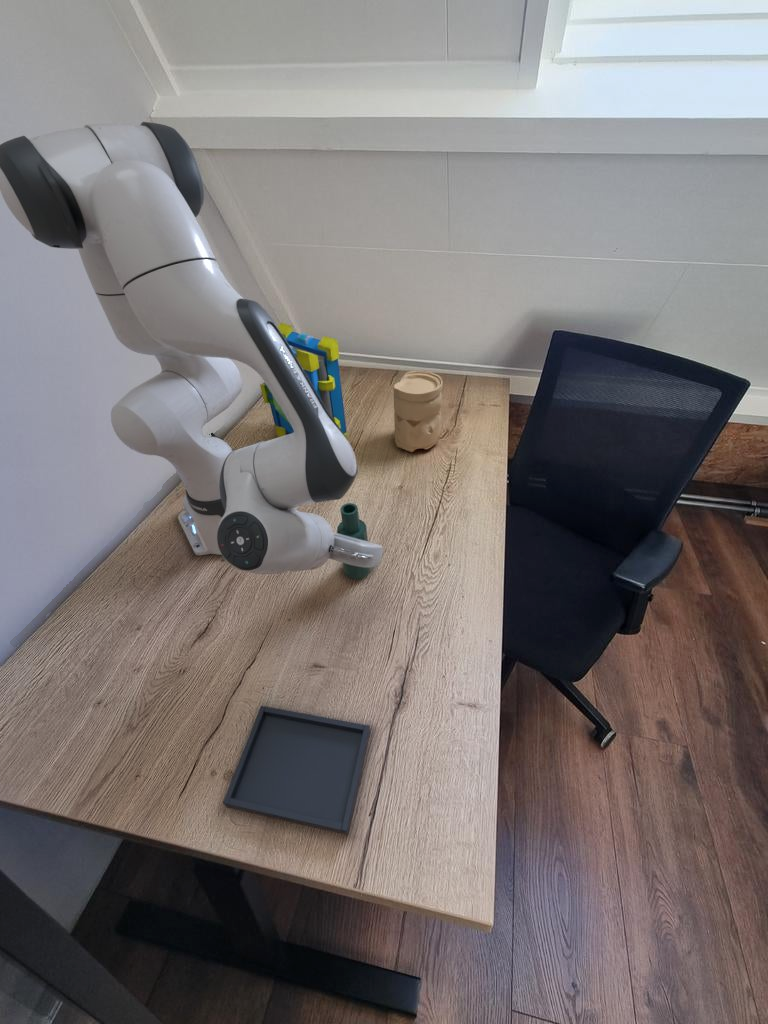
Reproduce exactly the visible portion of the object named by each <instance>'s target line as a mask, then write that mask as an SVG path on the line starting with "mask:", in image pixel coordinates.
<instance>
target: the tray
mask: <svg viewBox="0 0 768 1024" xmlns="http://www.w3.org/2000/svg"><path fill="white" fill-rule="evenodd" d="M370 734H371V728H370V725H368V724H363V723H357V722H353V721H345V720H341V719H335V718H330V717H325V716H318V715H313V714H308V713H303V712H298V711H293V710H287V709H282V708H275V707H270V706H265V705H260V707H259V710H258V712H257V715H256V718H255V720H254V723H253V725H252V728H251V730H250V733H249V735H248V738H247V740H246V742H245V745H244V747H243V750H242V753H241V756H240V757H239V760H238V763H237V766H236V768H235V770H234V773H233V775H232V778H231V780H230V782H229V786H228V788H227V790H226V793H225V796H224V798H223V801H222V804H223V805H224V806H225V807H226V808H227V809H231V810H237V811H240V812H244V813H250V814H254V815H258V816H263V817H266V818H271V819H276V820H280V821H283V822H284V821H285V822H289V823H293V824H297V825H302V826H305V827H309V828H314V829H320V830H323V831H327V832H332V833H337V834H341V835H345V836H349V835H350V830H351V826H352V820H353V816H354V812H355V811H354V810H355V806H356V802H357V796H358V791H359V788H360V782H361V777H362V773H363V768H364V764H365V759H366V753H367V749H368V744H369V740H370V736H371V735H370Z"/></svg>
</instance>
